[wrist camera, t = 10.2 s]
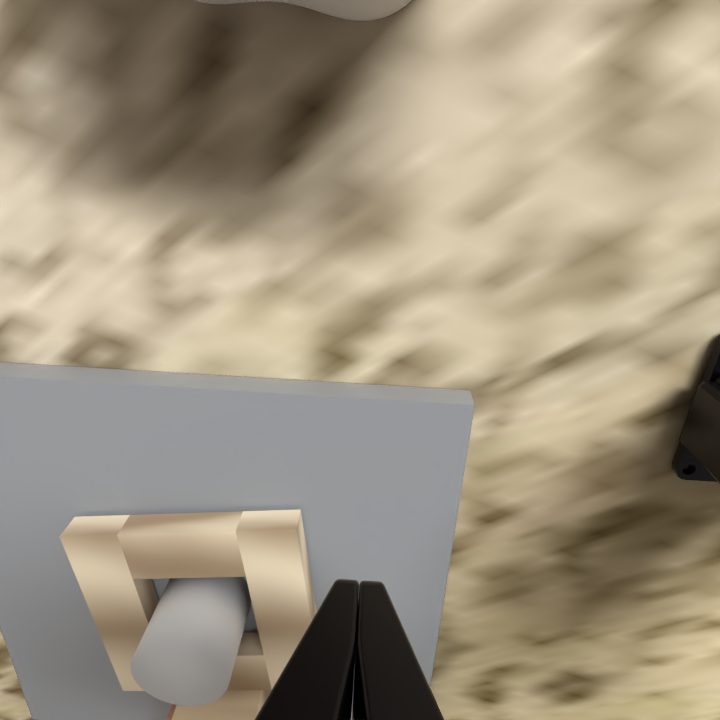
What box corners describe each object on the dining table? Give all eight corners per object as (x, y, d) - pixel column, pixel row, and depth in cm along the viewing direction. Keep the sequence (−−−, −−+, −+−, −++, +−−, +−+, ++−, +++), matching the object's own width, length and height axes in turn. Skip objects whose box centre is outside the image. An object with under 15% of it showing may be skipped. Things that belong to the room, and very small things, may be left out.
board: (469, 390, 21) (494, 468, 16) (419, 724, 30) (425, 837, 25) (-68, 358, 21) (-197, 425, 16) (45, 697, 30) (-18, 803, 26)
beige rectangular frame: (75, 516, 23) (24, 580, 19) (300, 509, 22) (286, 574, 19) (161, 738, 29) (133, 813, 26) (336, 738, 29) (330, 815, 25)
